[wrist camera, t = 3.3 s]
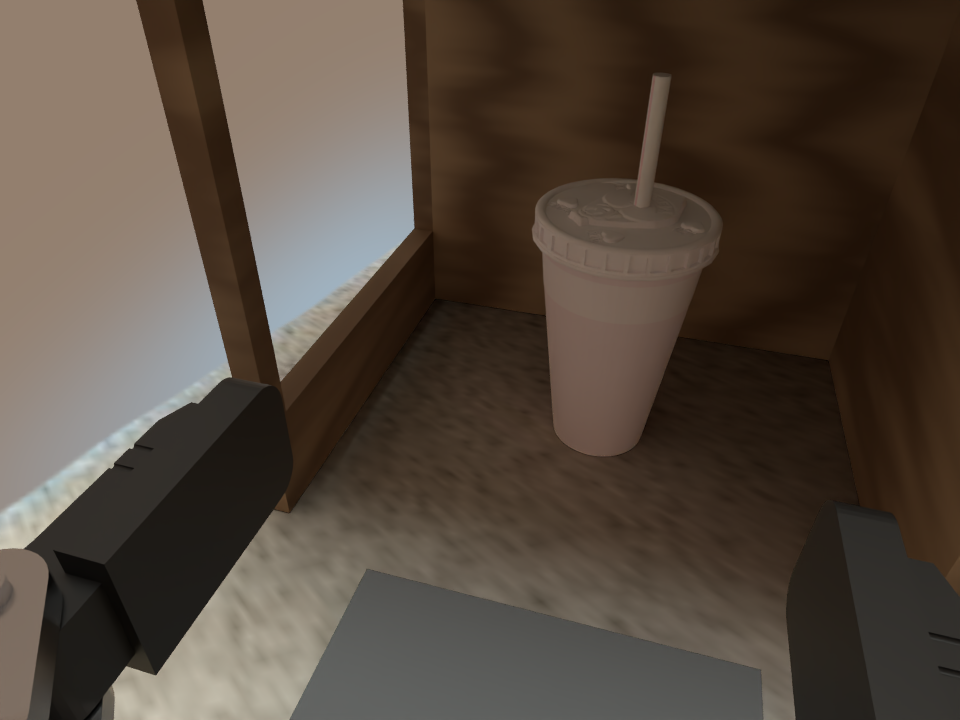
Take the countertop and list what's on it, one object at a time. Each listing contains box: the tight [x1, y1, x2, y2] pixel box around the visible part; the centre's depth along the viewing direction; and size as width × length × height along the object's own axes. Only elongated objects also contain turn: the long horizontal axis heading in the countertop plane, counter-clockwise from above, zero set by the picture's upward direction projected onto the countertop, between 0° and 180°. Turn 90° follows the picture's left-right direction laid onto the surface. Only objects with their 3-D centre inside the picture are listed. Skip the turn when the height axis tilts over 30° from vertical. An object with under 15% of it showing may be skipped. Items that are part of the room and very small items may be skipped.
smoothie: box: [532, 73, 723, 456], centre depth 25 cm, size 6×6×14 cm
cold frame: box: [136, 0, 960, 596], centre depth 23 cm, size 23×18×20 cm
